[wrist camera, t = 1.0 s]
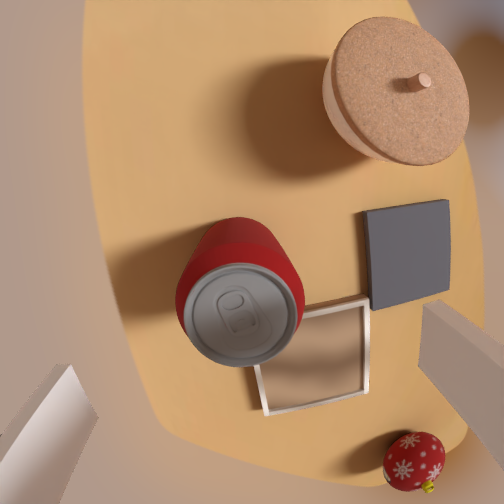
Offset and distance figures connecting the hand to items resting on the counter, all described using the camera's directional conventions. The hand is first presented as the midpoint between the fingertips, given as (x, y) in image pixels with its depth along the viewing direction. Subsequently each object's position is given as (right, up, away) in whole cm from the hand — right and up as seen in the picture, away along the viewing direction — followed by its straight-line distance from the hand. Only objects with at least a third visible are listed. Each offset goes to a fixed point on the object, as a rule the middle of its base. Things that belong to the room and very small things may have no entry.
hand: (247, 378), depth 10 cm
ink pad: (+15, +4, +17) cm, 23 cm away
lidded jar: (+10, +17, +14) cm, 24 cm away
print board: (+6, -6, +19) cm, 20 cm away
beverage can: (-1, +4, +16) cm, 17 cm away
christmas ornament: (+21, -22, +23) cm, 38 cm away
